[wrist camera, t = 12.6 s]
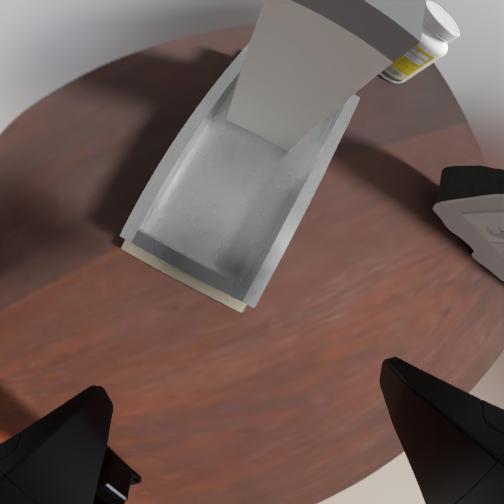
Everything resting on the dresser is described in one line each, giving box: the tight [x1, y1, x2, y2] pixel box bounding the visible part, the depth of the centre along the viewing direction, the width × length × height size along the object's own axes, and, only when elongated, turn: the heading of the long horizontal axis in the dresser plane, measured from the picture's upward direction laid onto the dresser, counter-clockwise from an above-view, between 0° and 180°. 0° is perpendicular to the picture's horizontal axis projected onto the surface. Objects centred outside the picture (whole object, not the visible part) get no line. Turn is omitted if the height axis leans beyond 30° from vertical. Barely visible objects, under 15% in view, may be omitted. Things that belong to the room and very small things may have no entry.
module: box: [226, 0, 425, 152], centre depth 11 cm, size 5×5×13 cm
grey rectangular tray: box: [120, 43, 360, 313], centre depth 17 cm, size 18×9×4 cm, turn 152°
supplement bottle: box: [379, 0, 460, 84], centre depth 16 cm, size 5×5×10 cm
